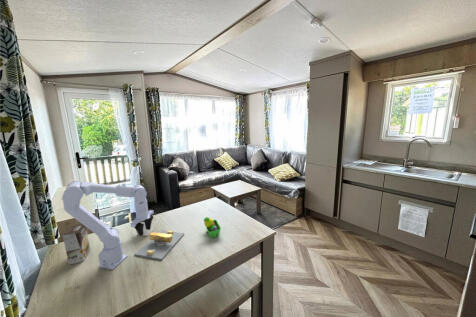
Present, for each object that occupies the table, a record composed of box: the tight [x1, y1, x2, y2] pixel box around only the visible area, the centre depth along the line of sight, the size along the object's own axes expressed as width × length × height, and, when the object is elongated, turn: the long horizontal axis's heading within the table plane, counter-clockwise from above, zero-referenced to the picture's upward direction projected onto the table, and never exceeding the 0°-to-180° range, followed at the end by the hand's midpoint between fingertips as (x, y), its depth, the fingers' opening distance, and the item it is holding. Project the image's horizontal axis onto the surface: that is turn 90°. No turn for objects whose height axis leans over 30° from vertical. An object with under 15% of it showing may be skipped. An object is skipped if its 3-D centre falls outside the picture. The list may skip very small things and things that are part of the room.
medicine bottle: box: [135, 219, 155, 237], centre depth 117 cm, size 7×7×12 cm
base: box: [134, 230, 185, 261], centre depth 106 cm, size 22×16×2 cm
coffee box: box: [62, 223, 91, 265], centre depth 96 cm, size 9×6×16 cm
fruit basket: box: [203, 216, 222, 238], centre depth 115 cm, size 11×9×11 cm
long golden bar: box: [148, 231, 172, 245], centre depth 105 cm, size 7×13×4 cm, turn 76°
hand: (144, 232), depth 101 cm, fingers open, 5 cm apart
